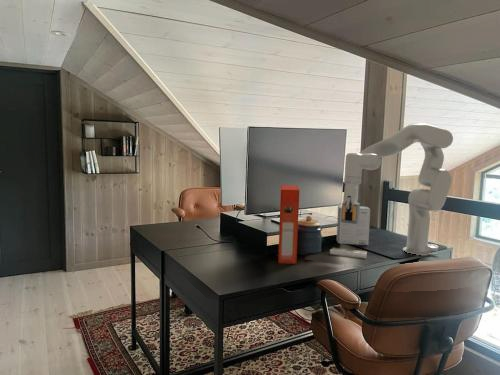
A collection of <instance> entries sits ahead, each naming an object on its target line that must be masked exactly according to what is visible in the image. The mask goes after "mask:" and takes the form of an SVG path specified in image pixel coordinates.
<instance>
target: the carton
mask: <svg viewBox="0 0 500 375" xmlns="http://www.w3.org/2000/svg"><path fill="white" fill-rule="evenodd" d="M346 203H347V202H346ZM350 205H351V204H350ZM341 206H342V215H341V222H344V223H352V224H357V223H358V222H359V210H360V207H361V203H360V202H357V203H356V204H354V206H353V208H352V212H353V215H352V221H348V220H345V211H346V204H344V205H343V202H342V203H341Z"/></svg>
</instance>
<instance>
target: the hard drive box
mask: <svg viewBox="0 0 500 375" xmlns="http://www.w3.org/2000/svg"><path fill="white" fill-rule="evenodd" d="M371 211H372V210H371V208H369V207H368V206H360V210H359V222H358V223H357V224H352V223H344V222H341V215H342V205H337V218H336V219H337V221H336V225H337V224H338V227H337V226H336V242H337V244H342V245H343V244H345V245H346V244H347V245H360V246H369V243H370V242H369V241H370V240H369V239H370V224H371Z"/></svg>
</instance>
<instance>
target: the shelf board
mask: <svg viewBox="0 0 500 375" xmlns="http://www.w3.org/2000/svg"><path fill="white" fill-rule="evenodd" d="M367 253H368V251H365V250H356V249H349V248H348V249H347V248H340V247H332V248H331V249H329V255H334V256H340V257H342V256H343V257H350V258H356V259H357V258H359V259H367Z"/></svg>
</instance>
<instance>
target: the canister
mask: <svg viewBox="0 0 500 375" xmlns="http://www.w3.org/2000/svg"><path fill="white" fill-rule="evenodd" d="M322 231H323V227H321V222H319V220H317V219H313V218H312V216H311V215H307V216H306V218H303V219H301V218H300V220H298V239H297V255H302V256H307V255H308V254H317V253H320V252H322V237H323V235H322Z"/></svg>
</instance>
